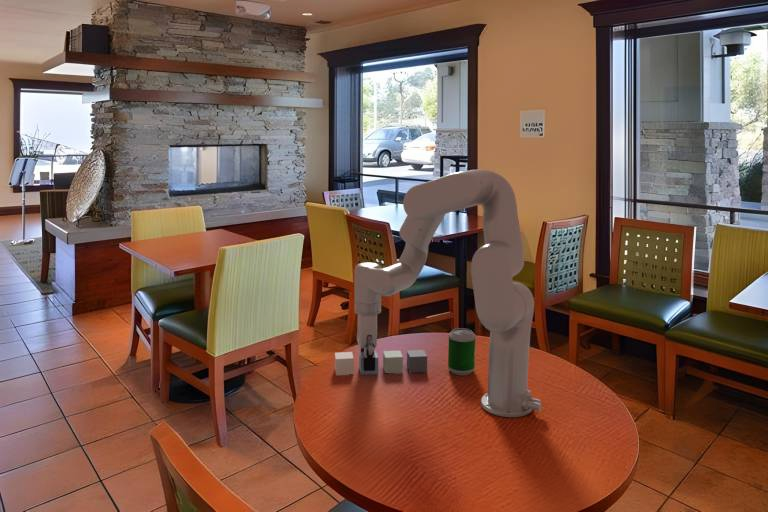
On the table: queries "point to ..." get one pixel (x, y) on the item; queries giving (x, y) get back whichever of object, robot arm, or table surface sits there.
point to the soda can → (461, 351)
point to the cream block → (344, 363)
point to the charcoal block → (417, 361)
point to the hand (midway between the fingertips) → (367, 363)
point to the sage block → (392, 361)
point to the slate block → (361, 364)
